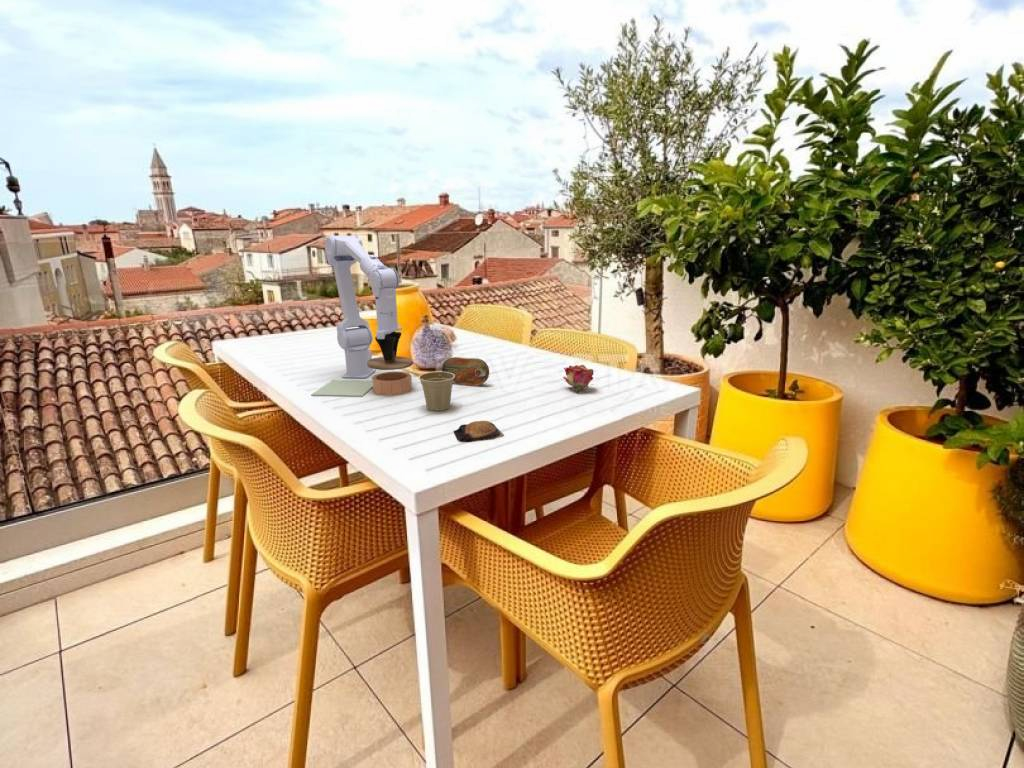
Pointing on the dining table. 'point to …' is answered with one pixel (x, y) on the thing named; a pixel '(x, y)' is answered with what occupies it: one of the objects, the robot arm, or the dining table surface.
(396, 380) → the terracotta bowl
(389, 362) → the walnut lid
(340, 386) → the rubber mat
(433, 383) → the flower pot
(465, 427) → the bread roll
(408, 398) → the dining table surface
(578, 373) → the flower
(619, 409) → the dining table surface
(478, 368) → the tin
